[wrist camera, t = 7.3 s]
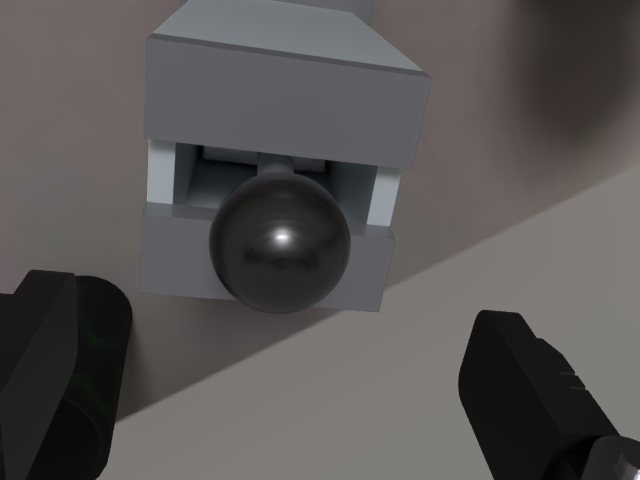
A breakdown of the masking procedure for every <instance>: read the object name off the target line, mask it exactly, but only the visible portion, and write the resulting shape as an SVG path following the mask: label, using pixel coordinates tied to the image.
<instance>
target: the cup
mask: <svg viewBox="0 0 640 480" xmlns="http://www.w3.org/2000/svg"><path fill="white" fill-rule="evenodd" d="M75 277H76V284H77V322H78V349H77V357H76V362H75V366H74V370H73V373H72V375H71V378H70V380H69V382H68V385H67V387H66V389H65V391H64V394H63V396H62V398H61V400H60V403H59V405H58V407H57V409H56V412H55V414H54V416H53V418H52V421H51V423H50V425H49V428H48V430H47V432H46V434H45V437H44V439H43V441H42V443H41V446H40V448H39V450H38V452H37V455H36V457H35V459H34V461H33V464H32V466H31V468H30V470H29V473H28V475H27V477H26V480H96V479H97V478H98V477H99V476H100V474H101V473H102V471H103V469H104V468H105V466H106V465H107V461H108V457H109V453H110V448H111V442H112V436H113V430H114V424H115V418H116V412H117V406H118V400H119V394H120V388H121V381H122V375H123V369H124V363H125V357H126V351H127V345H128V339H129V333H130V327H131V321H132V308H131V306H130V303H129V300H128V299H127V297H126V296H125V294H124V293H123V292H122V291H121V290H120V289H119V288H118V287H117V286H116V285H114V284H112V283H110V282H109V281H107V280H104V279H101V278H98V277H93V276H75Z"/></svg>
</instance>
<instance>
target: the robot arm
mask: <svg viewBox="0 0 640 480" xmlns="http://www.w3.org/2000/svg"><path fill="white" fill-rule="evenodd" d="M77 349H78V322H77V284H76V277H75V275H74V273H67V272H55V271H44V270H31V271H29V272H28V274H27V275H26V277H25V278H24V279H23V281H22V282H21V284H20V285H19V286H18V288H17V289H16V291H15V292H14V294H2V293H0V480H26V477H27V475H28V473H29V470H30V468H31V466H32V464H33V461H34V459H35V457H36V455H37V452H38V450H39V448H40V446H41V443H42V441H43V439H44V437H45V434H46V432H47V430H48V428H49V425H50V423H51V421H52V418H53V416H54V414H55V412H56V409H57V407H58V405H59V403H60V400H61V398H62V396H63V394H64V391H65V389H66V387H67V385H68V382H69V380H70V378H71V375H72V373H73V370H74V366H75V362H76V357H77ZM458 381H459V382H458V387H459V388H458V389H459V396H460V400H461V403H462V405H463V407H464V409H465V412H466V414H467V417H468V419H469V422H470V424H471V426H472V429H473V431H474V433H475V436H476V438H477V440H478V443H479V445H480V447H481V450H482V452H483V455H484V457H485V459H486V462H487V464H488V466H489V469H490V471H491V473H492V476H493V478H494V480H640V442H639V441H636V440H634V439H630V438H627V437H623V436H620V434H619V433H618V432H617V430H616V429H615V427H614V426H613V425H612V423H611V422H610V420H609V419H608V418H607V417H606V415H605V413H604V412H603V411H602V409H601V408H600V406H599V405H598V404H597V402H596V401H595V399H594V398H593V397H592V395H591V394H590V393H589V391H588V390H585V385H584V384H583V383H582V381H581V380H580V378H579V377H578V376H575V371H574V370H573V369H572V367H571V366H570V364H569V363H568V362H567V360H566V359H565V358H564V356H563V355H562V354H561V353H560V352H559V351H557V350H556V349H555V348H553V347H552V346H551V345H550V344H548V343H547V342H546V341H545V340H543V339H541V338H536V336H535V335H534V333H533V332H532V330H531V329H530V327H529V326H528V324H527V323H526V322H525V320H524V319H523V317H522V316H521V315H520V314H519V313H515V312H503V311H492V310H482V311H480V312H479V313H478V315H477V317H476V319H475V323H474V325H473V329H472V332H471V335H470V339H469V342H468V345H467V348H466V352H465V355H464V358H463V362H462V365H461V368H460V372H459V380H458Z"/></svg>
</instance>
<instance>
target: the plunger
mask: <svg viewBox="0 0 640 480" xmlns="http://www.w3.org/2000/svg"><path fill="white" fill-rule="evenodd" d="M203 159H210V160H218V161H227V162H236V163H245V164H253V165H257V176H255V177H252V178H250V179H248V180H246V181H244V182H242V183H241V184H239V185H238V186H236V187H235V188H234V189H233V190H232V191H231V192H230V193H229V194H228V195H227V196H226V197H225V198H224V199H223V201H222V202H221V204H220V205H219V207H218V208H217V211H216V213H215V215H214V217H213V220H212V224H211V227H210V232H209V253H210V258H211V262H212V265H213V269H214V271H215V273H216V275H217V277H218V279H219V280H220V282H221V283H222V285H223V286H224V287H225V289H226V290H227V291H228V292H229V293H230V294H231V295H232V296H233V297H235V298H236V299H237V300H239V301H240V302H242V303H243V304H245V305H247V306H249V307H250V308H253V309H256V310H258V311H262V312H267V313H275V314H284V313H292V312H297V311H301V310H304V309H307V308H309V307H311V306H313V305H315V304H316V303H318V302H320V301H321V300H322V299H324V298H325V297H326V296H327V295H328V294H329V293H330V292H331V291H332V290H333V289H334V288H335V287H336V285H337V284H338V283H339V281H340V280H341V278H342V276H343V274H344V272H345V270H346V267H347V264H348V261H349V257H350V249H351V236H350V230H349V224H348V221H347V218H346V216H345V214H344V212H343V210H342V208H341V206H340V204H339V203H338V201H337V200H336V199H335V198H334V196H333V195H332V194H331V193H330V192H329V191H328V190H327V189H325V188H324V187H323V186H322V185H320V184H319V183H317V182H316V181H314V180H312V179H310V178H308V177H305V176H302V175H299V174H295V173H294V170H293V169H297V170H306V171H315V172H323V173H324V167H325V160H324V159H315V158H307V157H298V156H290V155H281V154H273V153H264V152H256V151H247V150H239V149H230V148H222V147H213V146H205V145H204V152H203Z"/></svg>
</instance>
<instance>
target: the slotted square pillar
mask: <svg viewBox="0 0 640 480" xmlns="http://www.w3.org/2000/svg"><path fill="white" fill-rule="evenodd" d="M372 4H373V0H180V8H179V9H178V10H177V11H176V12H175V13H174V14H173V15H172V16H171V17H169V18H168V19H167V20H166V21H165V22H164V23H163V24H162V25H161V26H159V27H158V28H157V29H156V30H155V31H154V32H153V33H152V34H151V35H149V36H148V37H147V42H146V77H145V112H144V138H145V139H149V154H148V184H147V203H146V205H145V207H144V210H143V212H142V216H141V251H140V286H139V293H148V294H161V295H173V296H185V297H197V298H209V299H222V300H234V301H239V300H237V299H236V298H235V297H233V296H232V295H231V294H230V293H229V292H228V291H227V290H226V289H225V287H224V286H223V285H222V283H221V282H220V280H219V279H218V277H217V275H216V273H215V271H214V269H213V265H212V262H211V258H210V253H209V232H210V227H211V224H212V220H213V217H214V215H215V213H216V211H217V208H218V207H219V205H220V204H221V202H222V201H223V199H224V198H225V197H226V196H227V195H228V194H229V193H230V192H231V191H232V190H233V189H234V188H235V187H236V186H238V185H239V184H241V183H242V182H244V181H246V180H248V179H250V178H252V177H255V176H257V165H253V164H245V163H236V162H227V161H218V160H210V159H203V152H204V145H205V146H213V147H222V148H230V149H239V150H247V151H256V152H264V153H273V154H281V155H290V156H298V157H307V158H315V159H324V160H325V167H324V173H323V172H315V171H306V170H297V169H293V170H294V173H295V174H299V175H302V176H305V177H308V178H310V179H312V180H314V181H316V182H317V183H319V184H320V185H322V186H323V187H324V188H325V189H327V190H328V191H329V192H330V193H331V194H332V195H333V196H334V198H335V199H336V200H337V201H338V203H339V204H340V206H341V208H342V210H343V212H344V214H345V216H346V218H347V221H348V224H349V230H350V236H351V249H350V257H349V261H348V264H347V267H346V270H345V272H344V274H343V276H342V278H341V280H340V281H339V283H338V284H337V285H336V287H335V288H334V289H333V290H332V291H331V292H330V293H329V294H328V295H327V296H326V297H325V298H324V299H322V300H321V301H320V302H318V303H316V304H315V305H313V306H311V307H319V308H332V309H344V310H356V311H369V312H379V309H380V305H381V301H382V296H383V292H384V288H385V283H386V279H387V274H388V270H389V266H390V261H391V257H392V252H393V248H394V244H395V237H394V235H393V233H392V231H391V229H390V222H391V218H392V213H393V209H394V204H395V200H396V195H397V191H398V186H399V181H400V177H401V172H402V169H409V170H411V169H412V164H413V160H414V155H415V151H416V147H417V142H418V138H419V133H420V129H421V125H422V120H423V116H424V111H425V107H426V102H427V98H428V94H429V89H430V85H431V80H432V78H431V77H430V76H429V75H428V74H426V73H425V72H424V71H423V70H422V69H420V68H419V67H418V66H417V65H415V64H414V63H413V62H412V61H411V60H409V59H408V58H407V57H406V56H405V55H403V54H402V53H401V52H400V51H398V50H397V49H396V48H395V47H394V46H392V45H391V44H390V43H389V42H387V41H386V40H385V39H384V38H383V37H381V36H380V35H379V34H378V33H377V32H375V31H374V30H373V29H372V28H370V27H369V21H370V16H371V10H372Z"/></svg>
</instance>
